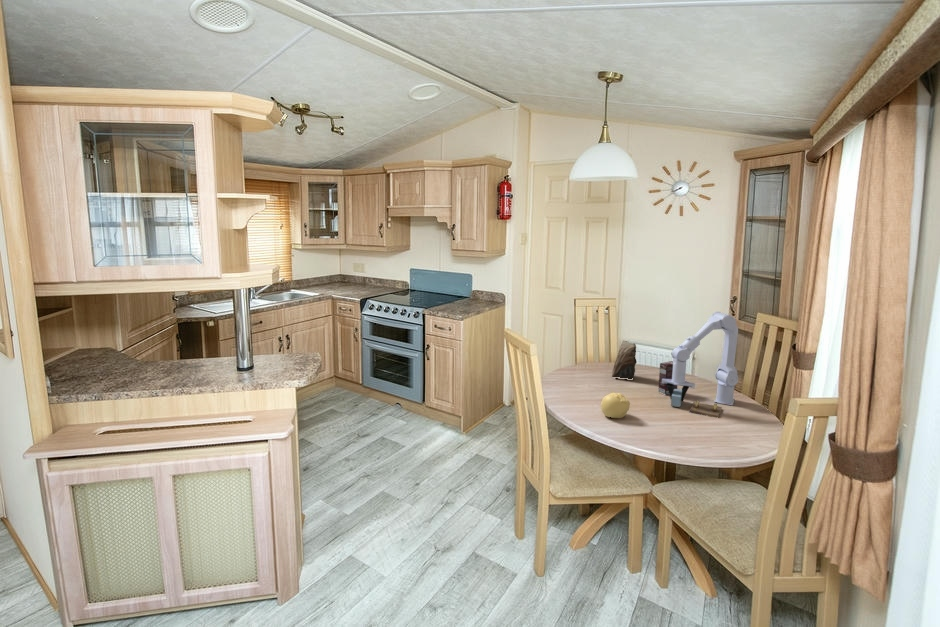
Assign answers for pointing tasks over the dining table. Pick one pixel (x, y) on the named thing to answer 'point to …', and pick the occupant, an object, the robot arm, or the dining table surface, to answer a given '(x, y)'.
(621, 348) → the brown rock
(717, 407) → the peg stand
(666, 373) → the supplement box
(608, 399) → the yellow round lump
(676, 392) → the light blue rectangular block
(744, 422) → the dining table surface
